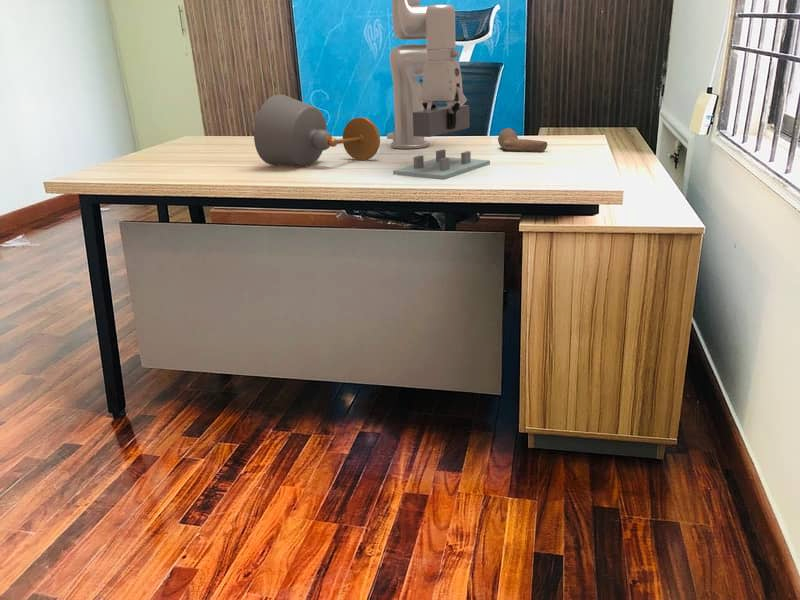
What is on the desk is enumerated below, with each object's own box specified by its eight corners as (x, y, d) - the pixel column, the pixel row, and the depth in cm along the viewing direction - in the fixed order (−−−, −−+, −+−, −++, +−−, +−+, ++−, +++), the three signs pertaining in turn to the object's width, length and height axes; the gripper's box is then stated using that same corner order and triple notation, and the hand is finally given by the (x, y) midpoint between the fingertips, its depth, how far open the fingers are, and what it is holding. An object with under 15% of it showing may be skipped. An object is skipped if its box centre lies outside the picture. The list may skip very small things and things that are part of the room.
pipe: (545, 137, 208) (552, 127, 215) (491, 136, 214) (499, 126, 222) (545, 158, 211) (551, 147, 219) (491, 156, 217) (500, 146, 225)
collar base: (393, 174, 187) (392, 159, 185) (441, 160, 205) (441, 146, 203) (443, 179, 178) (443, 163, 176) (489, 164, 196) (490, 149, 194)
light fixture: (254, 94, 193) (333, 110, 182) (309, 93, 214) (383, 107, 203) (250, 167, 200) (326, 187, 189) (305, 159, 221) (376, 176, 210)
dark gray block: (454, 127, 196) (453, 104, 194) (469, 127, 193) (469, 104, 191) (413, 136, 181) (412, 111, 179) (429, 136, 178) (428, 112, 176)
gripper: (477, 55, 179) (477, 127, 185) (422, 56, 188) (423, 125, 194) (461, 56, 173) (462, 131, 179) (405, 57, 183) (408, 129, 189)
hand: (442, 127), depth 187 cm, fingers closed on dark gray block, 5 cm apart
